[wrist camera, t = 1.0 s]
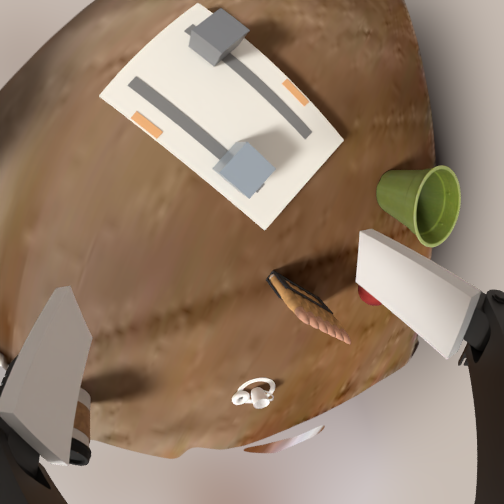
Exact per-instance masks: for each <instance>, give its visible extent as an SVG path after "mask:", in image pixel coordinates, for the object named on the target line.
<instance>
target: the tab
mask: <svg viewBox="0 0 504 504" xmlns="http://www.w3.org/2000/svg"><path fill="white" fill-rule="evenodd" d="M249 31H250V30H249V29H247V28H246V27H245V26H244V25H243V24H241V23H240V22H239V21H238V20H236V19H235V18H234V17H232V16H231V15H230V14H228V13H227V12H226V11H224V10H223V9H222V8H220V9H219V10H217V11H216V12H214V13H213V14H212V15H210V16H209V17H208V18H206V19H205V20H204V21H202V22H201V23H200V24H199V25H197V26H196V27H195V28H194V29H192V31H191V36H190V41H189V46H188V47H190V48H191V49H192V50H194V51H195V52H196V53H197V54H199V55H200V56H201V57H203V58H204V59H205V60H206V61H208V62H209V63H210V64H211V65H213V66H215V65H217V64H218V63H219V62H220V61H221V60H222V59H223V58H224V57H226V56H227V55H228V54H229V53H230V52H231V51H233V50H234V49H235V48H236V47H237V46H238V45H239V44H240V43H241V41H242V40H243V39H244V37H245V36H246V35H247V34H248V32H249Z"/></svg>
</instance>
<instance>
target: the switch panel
mask: <svg viewBox="0 0 504 504" xmlns="http://www.w3.org/2000/svg"><path fill="white" fill-rule="evenodd" d="M212 14H213V13H212V12H210V11H209V10H207V9H206V8H205V7H203V6H202V5H200V4H199V3H197V4H196V5H194V6H193V7H192V8H190V9H189V10H187V11H186V12H185V13H184V14H182V15H181V16H180V17H178V18H177V19H176V20H175V21H173V22H172V23H171V24H170V25H169V26H167V27H166V28H165V29H164V30H163V31H161V32H160V33H159V34H158V35H157V36H156V37H155V38H154V39H152V40H151V41H150V42H149V43H148V44H147V45H146V46H145V47H144V48H143V49H142V50H141V51H140V52H139V53H138V54H137V55H136V56H135V57H134V58H133V59H132V60H131V61H130V62H129V63H128V64H127V65H126V66H125V67H124V68H123V69H122V70H121V71H120V72H119V73H118V74H117V75H116V77H115V78H114V79H113V80H112V81H111V82H110V83H109V85H108V86H107V87H106V88H105V89H104V90H103V92H102V93H101V94H100V95H99V96H100V97H101V98H102V99H103V100H105V101H106V102H107V103H109V104H110V105H111V106H113V107H114V108H115V109H116V110H118V111H119V112H120V113H122V114H123V115H124V116H126V117H127V118H128V119H129V120H131V121H132V122H133V123H134V124H136V125H137V126H138V127H140V128H141V129H142V130H143V131H145V132H146V133H147V134H148V135H150V136H151V137H152V138H153V139H155V140H156V141H157V142H159V143H160V144H161V145H162V146H164V147H165V148H166V149H167V150H168V151H170V152H171V153H172V154H173V155H175V156H176V157H177V158H178V159H180V160H181V161H182V162H183V163H185V164H186V165H187V166H188V167H189V168H191V169H192V170H193V171H194V172H196V173H197V174H198V175H199V176H200V177H202V178H203V179H204V180H205V181H207V182H208V183H209V184H210V185H211V186H213V187H214V188H215V189H216V190H217V191H219V192H220V193H221V194H222V195H223V196H225V197H226V198H227V199H228V200H229V201H231V202H232V203H233V204H234V205H235V206H237V207H238V208H239V209H240V210H241V211H242V212H244V213H245V214H246V215H247V216H248V217H250V218H251V219H252V220H253V221H254V222H255V223H257V224H258V225H259V226H260V227H261V228H262V229H264V230H266V228H267V227H268V226H269V225H270V224H271V223H272V222H273V220H274V219H275V218H276V217H277V216H278V215H279V214H280V212H281V211H282V210H283V209H284V208H285V207H286V206H287V204H288V203H289V202H290V201H291V200H292V199H293V198H294V196H295V195H296V194H297V193H298V192H299V191H300V190H301V188H302V187H303V186H304V185H305V184H306V183H307V182H308V180H309V179H310V178H311V177H312V176H313V175H314V174H315V173H316V171H317V170H318V169H319V168H320V167H321V166H322V165H323V163H324V162H325V161H326V160H327V159H328V158H329V157H330V155H331V154H332V153H333V152H334V151H335V150H336V149H337V148H338V146H339V145H340V144H341V143H342V142H343V141H344V140H343V138H342V137H341V136H340V135H339V134H338V132H337V131H336V130H335V129H334V127H333V126H332V125H331V124H330V123H329V122H328V120H327V119H326V118H325V117H324V116H323V115H322V113H321V112H320V111H319V110H318V109H317V108H316V107H315V106H314V105H313V103H312V102H311V101H310V100H309V99H308V98H307V97H306V96H305V95H304V94H303V93H302V92H301V91H300V90H299V88H298V87H297V86H296V85H295V84H294V83H293V82H292V81H291V80H290V79H289V78H288V77H287V76H286V75H285V74H284V73H283V72H282V71H281V70H280V69H278V68H277V67H276V66H275V65H274V64H273V63H272V62H271V61H270V60H269V59H268V58H267V57H266V56H265V55H263V54H262V53H261V52H260V51H259V50H258V49H257V48H256V47H254V46H253V45H252V44H251V43H250V42H249V41H247V40H246V39H245V38H244V39H243V40H242V41H241V43H240V44H239V45H238V46H237V47H236V48H235V49H234V50H233V51H231V52H230V53H229V54H228V55H227V56H226V57H224V58H223V59H222V60H221V61H220V62H219V63H218V64H217V65H215V66H213V65H211V64H210V63H209V62H208V61H206V60H205V59H204V58H203V57H201V56H200V55H199V54H197V53H196V52H195V51H194V50H192V49H191V48H190V47H188V46H189V41H190V36H191V31H192V29H194V28H195V27H196V26H197V25H199V24H200V23H201V22H202V21H204V20H205V19H206V18H208V17H209V16H210V15H212ZM236 142H248V143H249V144H250V145H251V146H252V147H254V148H255V149H256V150H257V151H258V152H259V153H260V154H261V155H262V156H263V157H264V158H265V159H266V160H267V161H268V162H269V163H270V164H271V165H272V166H274V167H275V168H276V170H275V171H274V172H273V173H272V174H271V175H270V176H269V177H268V179H267V180H266V181H265V182H264V183H263V184H262V185H261V186H260V188H259V189H258V190H257V191H256V192H255V193H254V194H253V196H252V197H251V198H250V199H249V198H248V197H246V196H245V195H243V194H242V193H240V192H239V191H238V190H236V189H235V188H234V187H233V186H232V185H231V184H230V183H228V182H227V181H226V180H225V179H224V178H222V177H221V176H220V175H219V174H218V173H217V172H215V171H214V170H213V169H212V168H213V167H214V166H215V165H216V164H217V163H218V161H219V160H220V159H221V158H222V157H223V156H224V155H225V154H226V153H227V151H228V150H229V149H230V148H231V147H232V146H233V145H234V144H235V143H236Z"/></svg>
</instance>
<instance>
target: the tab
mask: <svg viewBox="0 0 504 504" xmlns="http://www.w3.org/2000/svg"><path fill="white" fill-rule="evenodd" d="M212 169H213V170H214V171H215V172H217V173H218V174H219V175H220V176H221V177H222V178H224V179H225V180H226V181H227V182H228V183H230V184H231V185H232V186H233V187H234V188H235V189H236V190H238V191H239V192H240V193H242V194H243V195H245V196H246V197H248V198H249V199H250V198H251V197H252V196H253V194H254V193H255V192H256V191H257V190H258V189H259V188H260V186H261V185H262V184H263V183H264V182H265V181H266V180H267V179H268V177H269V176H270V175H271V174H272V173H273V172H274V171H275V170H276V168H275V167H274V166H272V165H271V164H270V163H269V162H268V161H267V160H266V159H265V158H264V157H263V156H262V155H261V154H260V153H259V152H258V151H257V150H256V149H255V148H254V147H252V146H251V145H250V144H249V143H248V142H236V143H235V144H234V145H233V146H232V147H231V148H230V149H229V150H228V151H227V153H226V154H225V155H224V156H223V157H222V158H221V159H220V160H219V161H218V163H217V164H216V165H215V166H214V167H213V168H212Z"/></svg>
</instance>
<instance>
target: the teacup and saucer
mask: <svg viewBox="0 0 504 504" xmlns="http://www.w3.org/2000/svg"><path fill="white" fill-rule="evenodd" d="M257 381H265V382H267V383H269V384H270V391H269V392H268V391H265V390H263V389H262V388H260V387H255V388H253V389H252V390H251V398H252V400H248V399H249V397H250V395H249V393H248V392H246V391H243V389H244V388H245V387H246V386H247V385H249V384H251V383H253V382H257ZM274 390H275V383H274V381H273V380H271V379H269V378H256V379H252V380H249V381H247V382H246V383H244V384H243V385H241V386H240V388H239V389H238V391H237V393H235V394H234V395H233V397H232V402H233V403H234V404H236V405H241V404H244V403H253V405H254V407H255V408H258V409H260V408H264V407H266V406H267V405H268V404H269V402H270V401H272V400H273V399H274V396H273V395H272V393H273V392H274ZM265 392H266V393H267V394H266V393H265ZM270 395H271V396H272V397H273V398H272V399H268V397H269V396H270Z"/></svg>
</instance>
